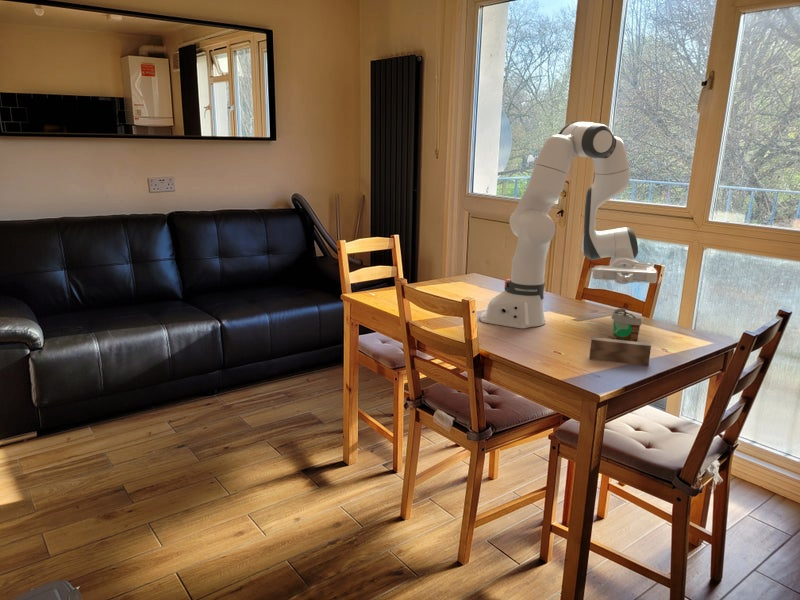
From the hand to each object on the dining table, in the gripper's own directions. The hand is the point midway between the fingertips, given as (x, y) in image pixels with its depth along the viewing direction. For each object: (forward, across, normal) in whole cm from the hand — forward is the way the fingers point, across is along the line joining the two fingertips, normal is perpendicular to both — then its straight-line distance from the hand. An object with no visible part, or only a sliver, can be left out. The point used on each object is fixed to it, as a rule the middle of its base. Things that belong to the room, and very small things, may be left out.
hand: (625, 279), depth 194 cm
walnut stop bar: (+28, -1, +18) cm, 33 cm away
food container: (+11, 0, +18) cm, 22 cm away
